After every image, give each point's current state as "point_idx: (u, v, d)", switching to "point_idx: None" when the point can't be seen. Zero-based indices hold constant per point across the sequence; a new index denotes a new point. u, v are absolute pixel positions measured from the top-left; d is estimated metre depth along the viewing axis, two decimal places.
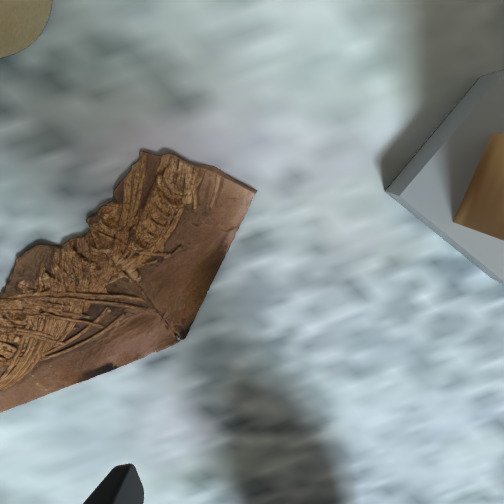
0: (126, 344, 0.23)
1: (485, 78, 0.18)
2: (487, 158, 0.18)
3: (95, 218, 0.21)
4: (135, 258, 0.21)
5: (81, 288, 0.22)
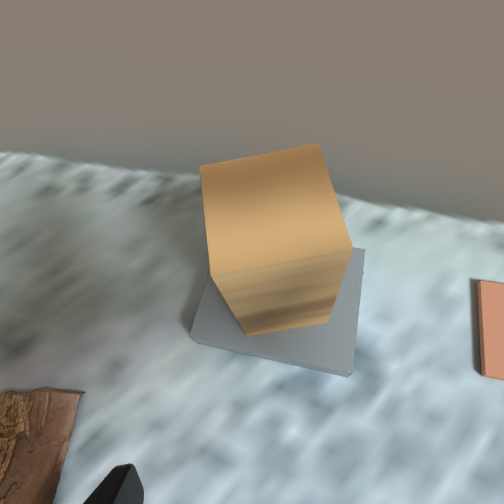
0: None
1: None
2: None
3: None
4: None
5: None
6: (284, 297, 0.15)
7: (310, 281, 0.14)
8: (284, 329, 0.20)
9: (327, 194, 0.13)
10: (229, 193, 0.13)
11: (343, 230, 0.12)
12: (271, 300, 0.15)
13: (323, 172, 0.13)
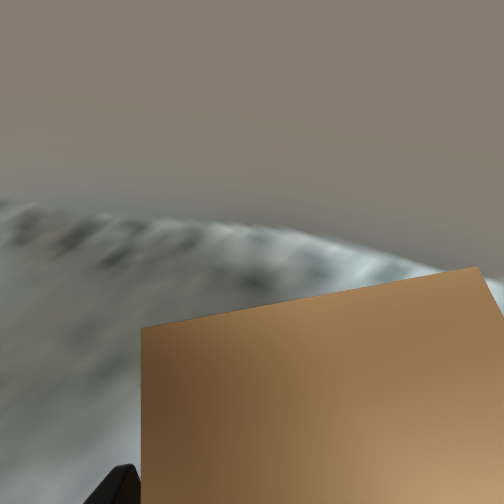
0: None
1: None
2: None
3: None
4: None
5: None
6: None
7: None
8: None
9: None
10: (223, 442, 0.04)
11: None
12: None
13: None
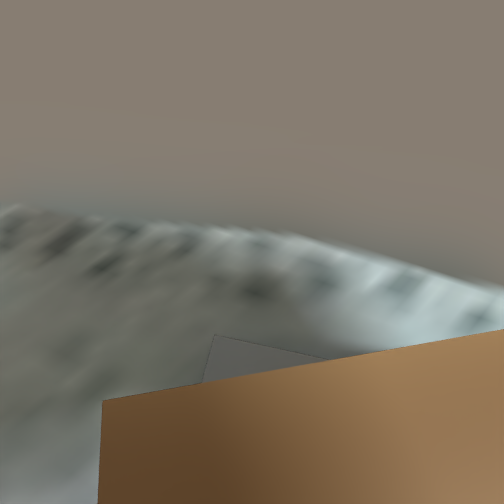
0: None
1: None
2: None
3: None
4: None
5: None
6: None
7: None
8: None
9: None
10: None
11: None
12: None
13: None
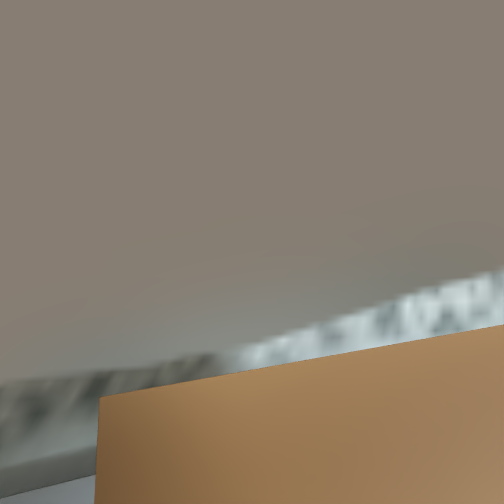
0: None
1: None
2: None
3: None
4: None
5: None
6: None
7: None
8: None
9: None
10: None
11: None
12: None
13: None
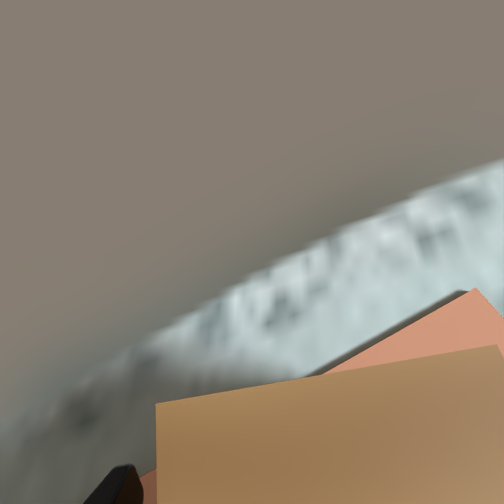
0: None
1: None
2: None
3: None
4: None
5: None
6: None
7: None
8: None
9: None
10: None
11: None
12: None
13: None
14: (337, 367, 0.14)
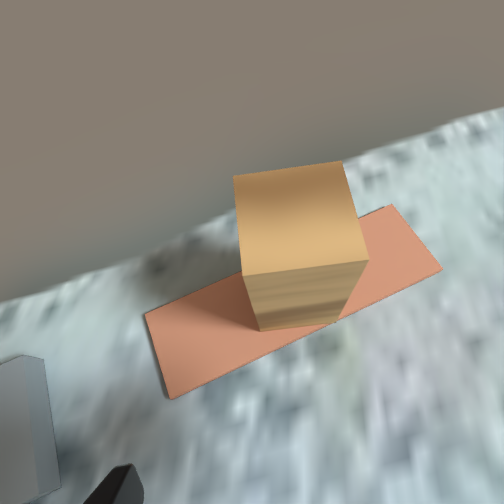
0: None
1: None
2: None
3: None
4: None
5: None
6: (301, 298, 0.17)
7: (327, 284, 0.15)
8: (295, 326, 0.22)
9: (348, 208, 0.14)
10: (259, 202, 0.15)
11: (361, 242, 0.13)
12: (290, 299, 0.17)
13: (345, 188, 0.14)
14: None
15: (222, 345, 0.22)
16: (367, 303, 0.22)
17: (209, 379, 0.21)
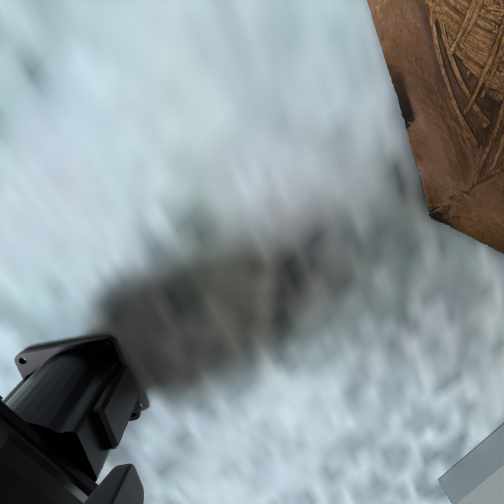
0: (437, 143, 0.18)
1: None
2: None
3: None
4: None
5: None
6: None
7: None
8: None
9: None
10: None
11: None
12: None
13: None
14: None
15: None
16: None
17: None
